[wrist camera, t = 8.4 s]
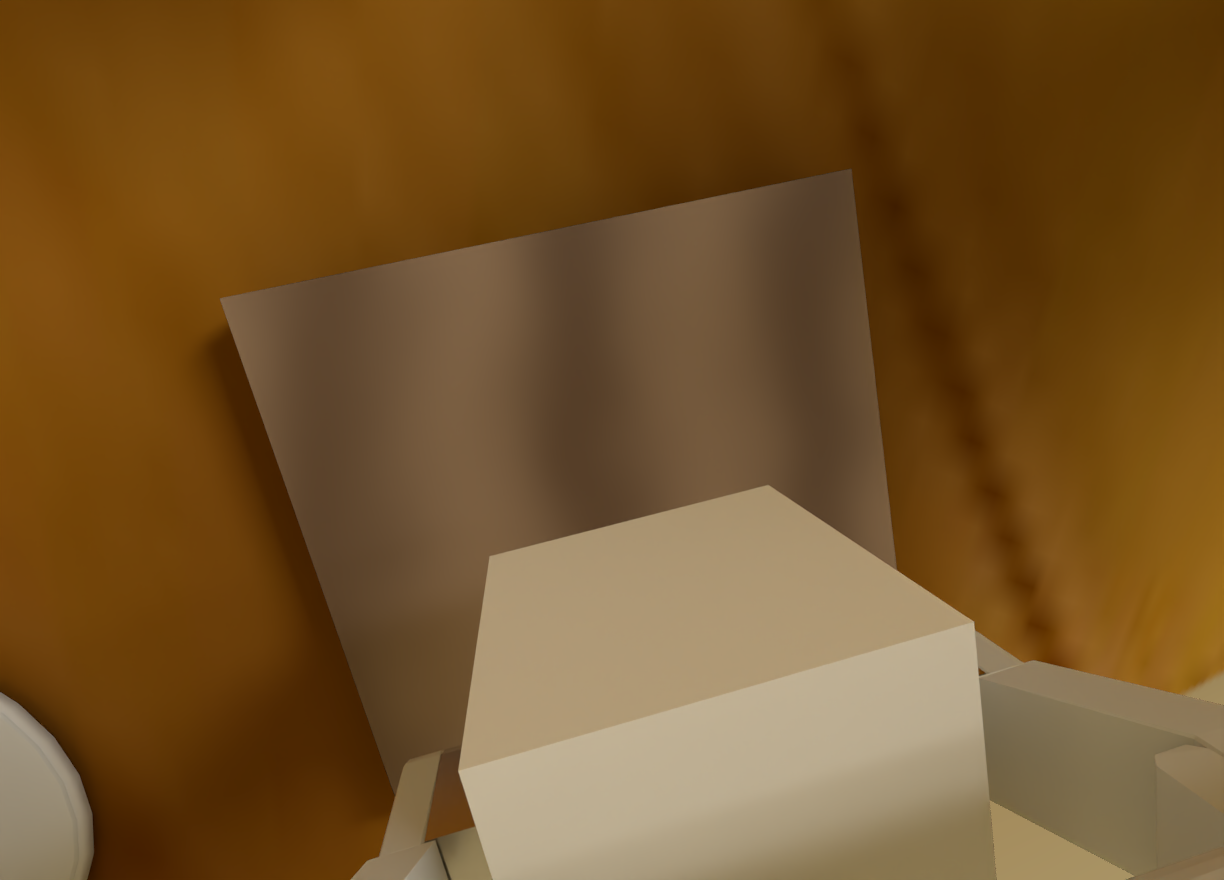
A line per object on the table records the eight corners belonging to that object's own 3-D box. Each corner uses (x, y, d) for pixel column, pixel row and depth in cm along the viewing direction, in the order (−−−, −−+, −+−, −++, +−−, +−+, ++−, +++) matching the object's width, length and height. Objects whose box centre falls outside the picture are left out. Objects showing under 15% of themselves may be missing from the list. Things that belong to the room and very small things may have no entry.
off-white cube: (768, 484, 11) (974, 622, 6) (807, 725, 12) (1008, 1010, 7) (489, 555, 10) (457, 770, 5) (557, 799, 11) (582, 1161, 6)
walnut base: (815, 184, 18) (851, 168, 16) (875, 661, 21) (911, 695, 19) (256, 301, 16) (219, 298, 14) (422, 791, 20) (411, 842, 18)
